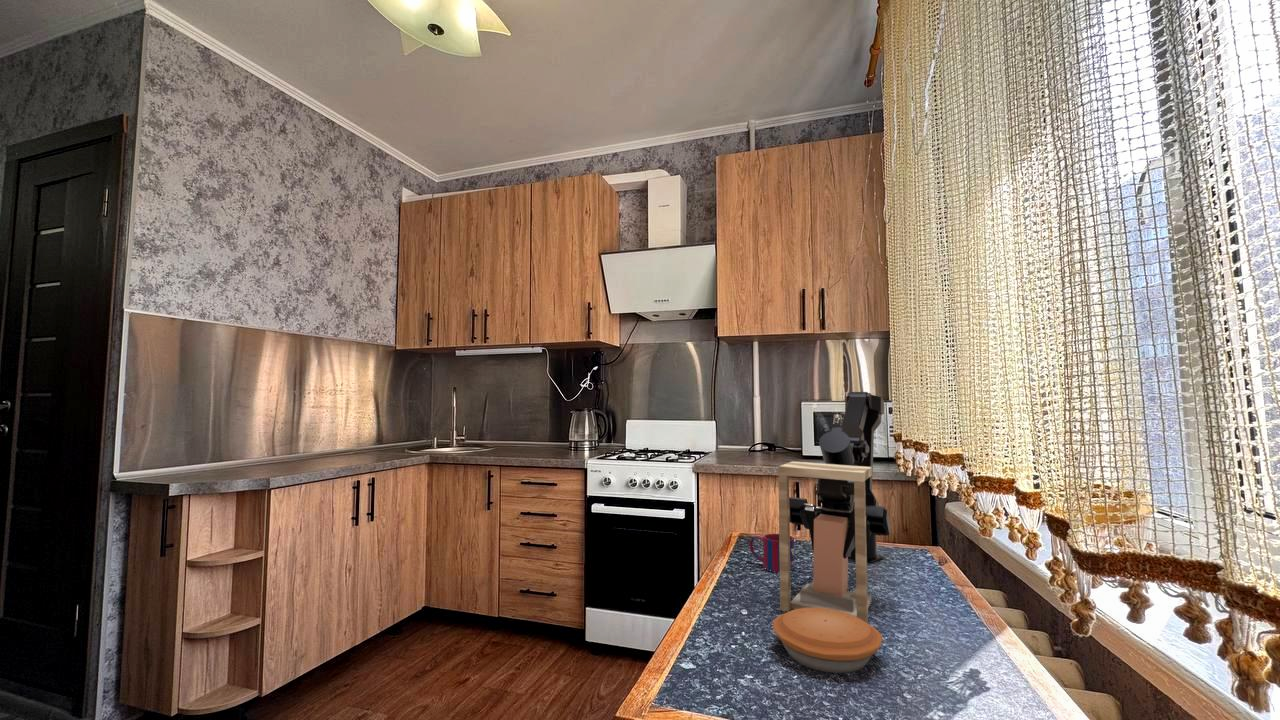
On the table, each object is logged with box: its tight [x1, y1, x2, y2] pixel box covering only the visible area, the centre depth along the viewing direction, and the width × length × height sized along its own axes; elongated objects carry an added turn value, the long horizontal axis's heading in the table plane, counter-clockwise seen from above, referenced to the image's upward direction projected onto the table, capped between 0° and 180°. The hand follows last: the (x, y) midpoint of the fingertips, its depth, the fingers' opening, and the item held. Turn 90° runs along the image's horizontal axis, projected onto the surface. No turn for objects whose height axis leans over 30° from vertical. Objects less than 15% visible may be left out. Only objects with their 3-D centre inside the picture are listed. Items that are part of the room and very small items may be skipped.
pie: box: [772, 608, 883, 674], centre depth 82 cm, size 16×16×5 cm
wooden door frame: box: [777, 461, 873, 624], centre depth 101 cm, size 14×14×26 cm
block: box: [812, 514, 849, 596], centre depth 101 cm, size 5×5×13 cm
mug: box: [749, 533, 796, 573], centre depth 123 cm, size 7×10×7 cm
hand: (829, 554), depth 100 cm, fingers closed on block, 5 cm apart
